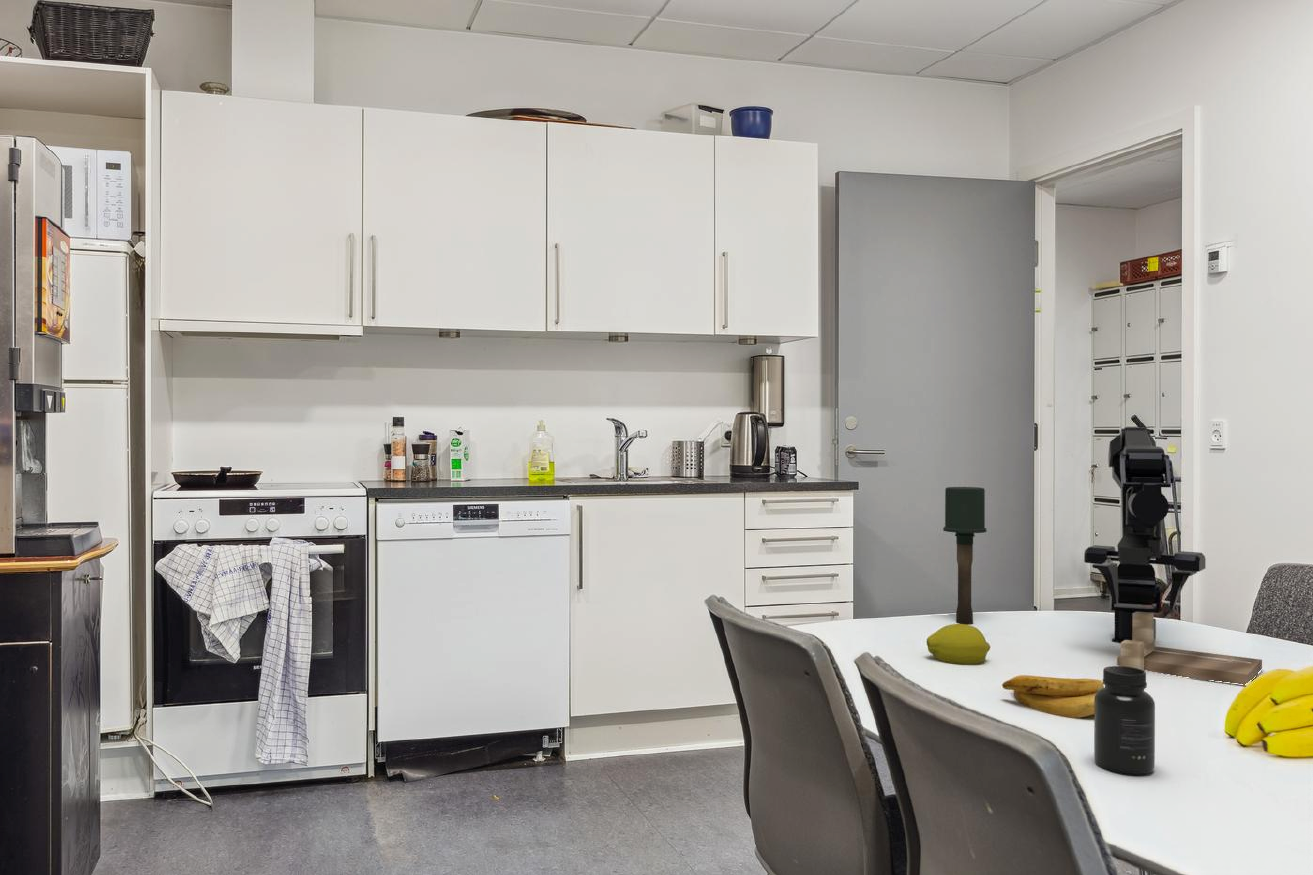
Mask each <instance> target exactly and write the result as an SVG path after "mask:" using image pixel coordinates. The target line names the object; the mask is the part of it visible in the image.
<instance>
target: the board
mask: <svg viewBox="0 0 1313 875" xmlns="http://www.w3.org/2000/svg"><path fill="white" fill-rule="evenodd" d="M1117 665H1118V666H1121V654H1119V655H1118V656H1117V657H1116V666H1117ZM1261 669H1262V670H1263V659H1260V658H1251V657H1243V656H1235V655H1229V654H1228V655H1227V654H1222V653H1221V654H1219V653H1218V654H1217V653H1212V652H1211V653H1210V652H1204V651H1203V652H1202V651H1196V650H1189V649H1180V648H1179V649H1178V648H1173V647H1172V648H1171V647H1163V646H1156V645H1155V650H1154V651H1152V652H1151V653H1149V654H1148V655H1146V656H1145V657H1144V671H1145V670H1147V671H1146V672H1150V671H1151V672H1150V673H1156V672H1157V673H1156V674H1161V673H1163V675H1167V674H1170V675H1169V676H1172V675H1176V676H1175V677H1178V676H1182V677H1181V678H1183V677H1189V678H1195V679H1194V680H1196V679H1201V680H1200V681H1203V680H1214V681H1222V682H1230V683H1238V684H1243V685H1245V684H1246V683H1248V682H1249V681H1250V680H1252V679H1253V678H1254V677H1255V676H1257V675H1258V672H1259V671H1260V670H1261ZM1258 676H1259V675H1258ZM1258 676H1257V677H1258ZM1189 678H1188V679H1189Z"/></svg>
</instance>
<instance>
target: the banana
mask: <svg viewBox="0 0 1313 875" xmlns="http://www.w3.org/2000/svg"><path fill="white" fill-rule="evenodd" d="M1001 686H1002V688H1003V689H1004V690H1010V691H1011V690H1012V691H1013V694H1014V696H1015V699H1016V700H1017V702H1019V703H1020V704H1022V705H1024V706H1026V707H1027V708H1030V709H1032V710H1036V711H1039V712H1041V713H1045V714H1050V715H1053V716H1057V717H1058V716H1059V717H1063V718H1064V717H1066V718H1072V719H1079V718H1085V717H1086V718H1087V717H1089V716H1092V715H1094V700H1095V695H1096V693H1097V692H1098V691H1099V690H1100V689H1102V688H1104V687H1105V685H1104V684H1103V680H1101V679H1095V678H1094V679H1093V678H1063V677H1062V678H1060V677H1050V676H1048V677H1047V676H1038V675H1025V674H1024V675H1023V674H1021V675H1016V676H1014V677H1012V678H1010V679H1008V680H1005V681H1004V682H1002V684H1001Z"/></svg>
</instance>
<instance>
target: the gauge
mask: <svg viewBox="0 0 1313 875" xmlns="http://www.w3.org/2000/svg"><path fill="white" fill-rule="evenodd" d="M1154 614H1155V613H1154V612H1153V613H1146V612H1135V613H1133V623H1132V640H1124V641H1123V642H1121V643H1120V655H1121V666H1125V667H1132V668H1137V669H1140V670H1143V671H1144V672H1145V670H1144V657H1145V656H1146V655H1148V654H1149V653H1151V652H1152V651H1154V650H1155V646H1156V642H1155V641H1156V640H1155V639H1154V619H1155V616H1154Z"/></svg>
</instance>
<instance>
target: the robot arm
mask: <svg viewBox="0 0 1313 875" xmlns="http://www.w3.org/2000/svg"><path fill="white" fill-rule="evenodd" d="M1156 444H1157V442H1156V440H1154V439H1153V438H1152V436H1151V433H1150V428H1147V427H1144V426H1143V427H1141V426H1138V427H1135V426H1134V427H1132V426H1130V427H1129V426H1128V427H1127V426H1126V427H1124V428H1120V433H1119V435H1117V436H1116V437H1115V438H1113V439H1111V440H1110V441H1109V445H1108V446H1109V447H1108V454H1107V455H1108V457H1107V458H1108V459H1107V460H1108V461H1107V462H1108V463H1107V464H1108V468H1111V474H1112V475H1111V476H1112V479H1113V480H1114V481H1115V483H1116V484H1117V486H1118V487H1119V488H1120V504H1121V505H1120V506H1121V513H1120V514H1121V516H1120V517H1121V539H1120V540H1119V541H1118V543H1117V546H1116V547H1117V549H1116V547H1115V546H1110V545H1099V544H1098V545H1097V544H1096V545H1091V546H1088V547H1087V548H1086V549H1085V550H1084V558H1083V559H1084V560H1083V561H1084V563H1085V564H1092V565H1091V566H1092V568H1093V569H1097V570H1098V571H1099V572H1100V574H1101V575H1102V577H1103V579H1104V580H1105V583H1106V585H1107V589H1108V591H1109V609H1110V611H1111V612H1112V611H1114V637H1113V638H1111V642H1113V643H1120V644H1121V642H1123V641H1124V640H1132V623H1133V613H1135V612H1146V613H1154V614H1159V613H1161V612H1162V603H1163V592H1164V589H1163V588H1162V587H1161V586H1160V582H1159V581H1156V571H1155V568H1154V566H1153V565H1164V566H1165V565H1166V566H1173V567H1174V568H1175V570H1173V571H1171V587H1170V594H1169V610H1171V611H1173V610H1175V607H1176V604H1177V602H1178V600H1179V598H1180V595H1181V593H1182V590H1183V588H1184V585H1185V583H1186V582H1187V581H1188V579H1189V577H1191V576H1193V575H1196V574H1198V572H1201V571H1203V570H1205V569H1206V556H1205V555H1204V554H1203V553H1202V552H1198V551H1197V552H1195V551H1183V550H1182V551H1181V550H1179V551H1177V552H1175V553H1174V554H1164V552H1165V547H1164V546H1165V545H1164V541H1163V536H1162V535H1163V533H1162V532H1163V523H1162V522H1163V520H1164V519H1165V518H1166V516H1167V515H1168V513H1169V509H1170V506H1169V502H1168V499H1167V497H1166V496H1165V495H1164V494H1163V493H1162V488H1169V489H1170V488H1172V484H1174V480H1175V476H1174V468H1173V461H1172V460H1171V459H1170V456H1169V454H1165V450H1164V449H1163V448H1162V446H1157V445H1156ZM1114 561H1115V562H1114ZM1116 562H1119V563H1116ZM1156 634H1157V619H1156V618H1154V639H1155V641H1156V640H1157V635H1156Z"/></svg>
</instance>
